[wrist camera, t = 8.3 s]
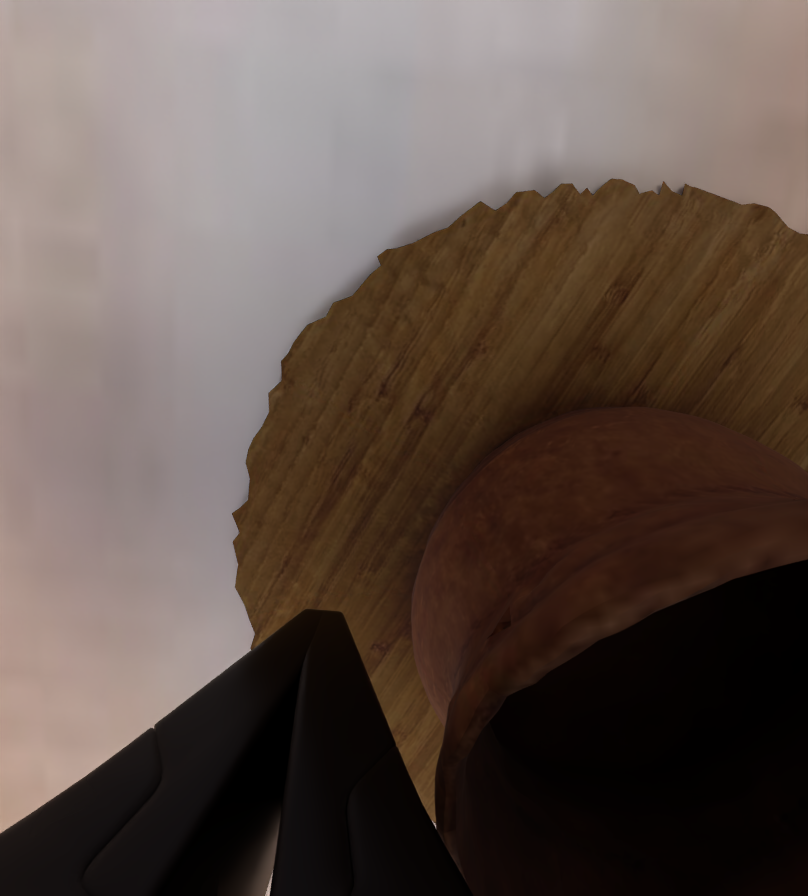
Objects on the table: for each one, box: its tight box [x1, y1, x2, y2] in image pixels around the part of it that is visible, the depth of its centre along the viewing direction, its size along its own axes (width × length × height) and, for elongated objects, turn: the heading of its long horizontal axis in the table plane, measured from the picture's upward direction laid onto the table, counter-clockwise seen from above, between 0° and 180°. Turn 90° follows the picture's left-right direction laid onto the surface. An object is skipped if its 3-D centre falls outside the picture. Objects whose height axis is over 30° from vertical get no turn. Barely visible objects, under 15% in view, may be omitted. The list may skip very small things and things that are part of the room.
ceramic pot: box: [232, 179, 808, 896], centre depth 8 cm, size 18×18×7 cm
